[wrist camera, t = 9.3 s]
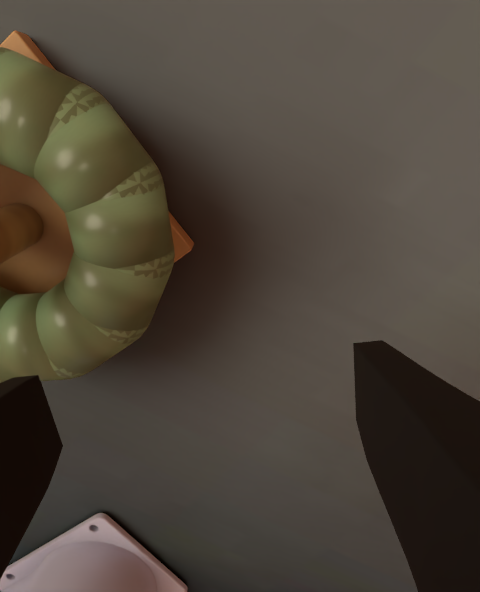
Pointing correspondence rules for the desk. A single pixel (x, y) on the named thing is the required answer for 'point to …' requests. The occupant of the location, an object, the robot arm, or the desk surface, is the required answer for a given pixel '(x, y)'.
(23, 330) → the ring
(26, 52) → the rack
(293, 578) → the desk surface
